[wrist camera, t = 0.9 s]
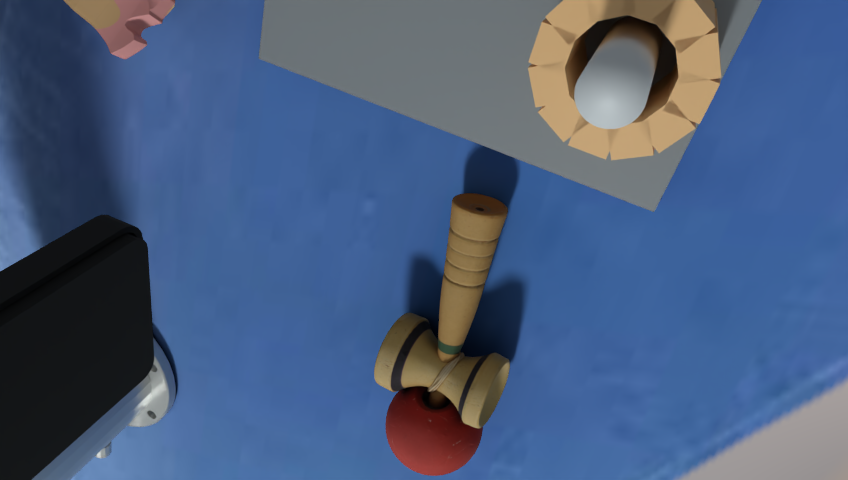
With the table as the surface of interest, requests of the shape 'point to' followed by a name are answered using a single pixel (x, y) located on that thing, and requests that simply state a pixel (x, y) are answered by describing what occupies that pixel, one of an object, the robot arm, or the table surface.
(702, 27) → the collar
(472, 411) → the kendama
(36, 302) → the robot arm
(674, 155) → the board
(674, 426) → the table surface
